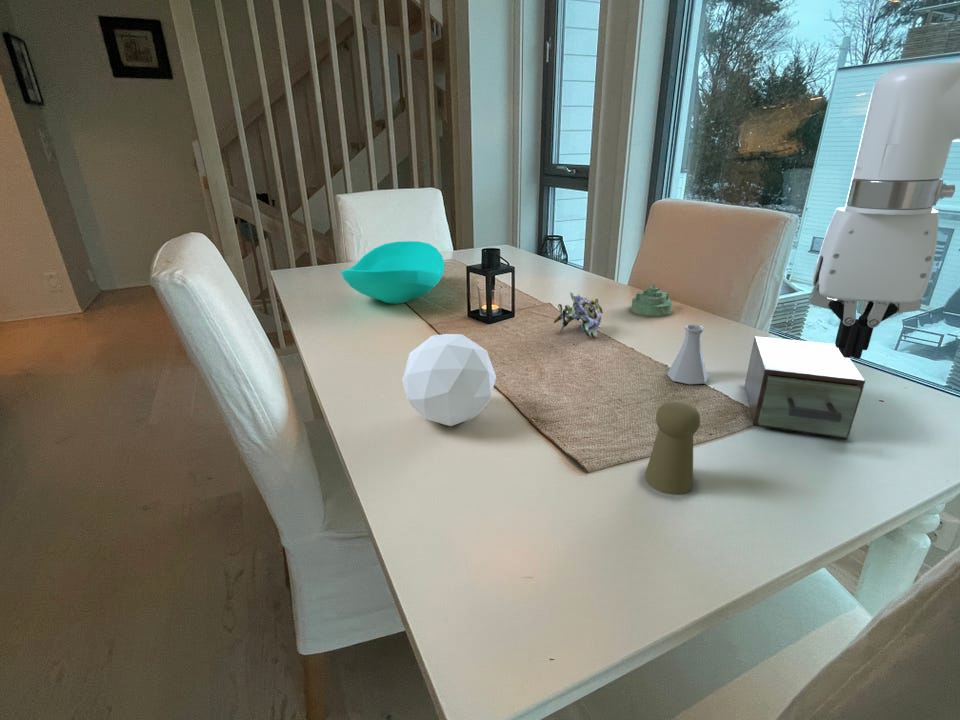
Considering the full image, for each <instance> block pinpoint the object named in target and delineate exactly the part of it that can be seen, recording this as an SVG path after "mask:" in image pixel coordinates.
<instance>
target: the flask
mask: <svg viewBox="0 0 960 720" xmlns="http://www.w3.org/2000/svg"><path fill="white" fill-rule="evenodd" d="M704 329H705V327H703V326H702V325H700V324H693V323H692V324H686V325H685V326H684V330H685V336H684V340H683V343H682V345H681V347H680V349H679V351H678V353H677V355H676V357H675V359H674V361H673V363H672V364H671V366H670V368H669V370H668V371H667V373H666V376H668V378H670V379H671V381H672V382H677V383H681V384H686V385H703V384H706V382H707V381H708V372H707V368H706V364H705V359H704V355H703V350H702V333H703V332H704Z"/></svg>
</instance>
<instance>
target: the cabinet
mask: <svg viewBox="0 0 960 720" xmlns="http://www.w3.org/2000/svg"><path fill="white" fill-rule="evenodd" d="M850 358H851V357H850ZM850 358H844V357H843V356H842V354H841V352H840V351H839V348H836V346H835V343H830V342H818V341H808V340H796V339H786V338H777V337H776V338H775V337H765V336H757V335H755V336H754V337H753V342H752V347H751V352H750V357H749V362H748V367H747V371H746V377H745V382H744V390H745V394H746V395H745V396H746V399H747V403H748V409H749V413H750V419H751V424H752V426H755V427H763V428H769V429H776V430H783V431H788V432H795V433H803V434H810V435H816V436H823V437H830V438H836V439H843V440H848V439H849V437H850V434H851V430H852V427H853V423H854V421H855V416H856V414H857V410H858V406H859V403H860V401H861V397H862V394H863V390H864V387H865V383H866V380H865V378H864V377H863V375H862V374H861V373H860V371H859V370H858V368H857V367H856V365H855V364H854V363H853V361H852V360H851V359H850ZM770 375H776V376H785V377H793V378H802V379H811V380H819V381H828V382H836V383H845V384H849V385H853V386H859V387H860V389H861V391H860V395H859V398H858V401H857V405H856V408H855V411H854V414H853V418H852V421H851V424H850V428H849V431H848V434H847V437H840V436H833V435H826V434H820V433H813V432H806V431H799V430H792V429H785V428H778V427H772V426H765V425H759V422H758V420H759V415H760V411H761V406H762V402H763V397H764V393H765V388H766V384H767V379H768V376H770Z"/></svg>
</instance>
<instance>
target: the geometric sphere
mask: <svg viewBox="0 0 960 720" xmlns="http://www.w3.org/2000/svg"><path fill="white" fill-rule="evenodd" d="M404 368H405V369H404V373H403V375H402V380H401V383H402V386H403V389H404V393H405V395H406V398H407V401H408V402H409V404H410V405H411V407H412V408H414V410H415V411H416V412H417V413H418V414H420V415H421V416H422V417H423V419H425V420H428V421H431V422H435V423H437V424H442V425H444V426H449V427H453V426H455V425H458V424H462V423H464V422H467V421H469V420H472V419H473V418H476V416H478V415H479V414H480V413H481V412H482V411H483V410H484V409H485V408H486V407H487V406H488V405H489V403H490V400H491V397H492V393H493V391H494V387H495V384H496V380H497V375H496V373H495V372H496V371H495V369H494V366H493V364H492V362H491V358H490V356H489V353H488V351H487V349H485V348H484V347H482V346H481V345H479V344H478V343H476V342H474V340H471V339H470V338H469V337H467V336H465V335H464V334H463V333H461V334H460V333H445V334H444V333H443V334H433V335H431V336H429V338H427V339H426V340H424V341H423V342H422V343H421V344H420V345H419V346H417V347H415V348H414V349H413V350H412V351H411V352H409V353H408V358H407V360H406V365H405V367H404Z"/></svg>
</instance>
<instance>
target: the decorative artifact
mask: <svg viewBox="0 0 960 720" xmlns="http://www.w3.org/2000/svg"><path fill="white" fill-rule="evenodd" d="M673 304H674V302H673V300H672V299H671V298H669V293H668V292H666V291H662V290H661V289H660V287H659V286H656V283H653V284H652V286H648V288H647V289H645V288H644V289H643V291H642V290H640V291H637V292H636V295H635V296H634V297H632V299H631V306H630V307H631V308H630V309H631V311H632V312H633V313H635V314H638V315H641V316H646V317H665V316H669V315H671V314H672V311H673Z"/></svg>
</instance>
